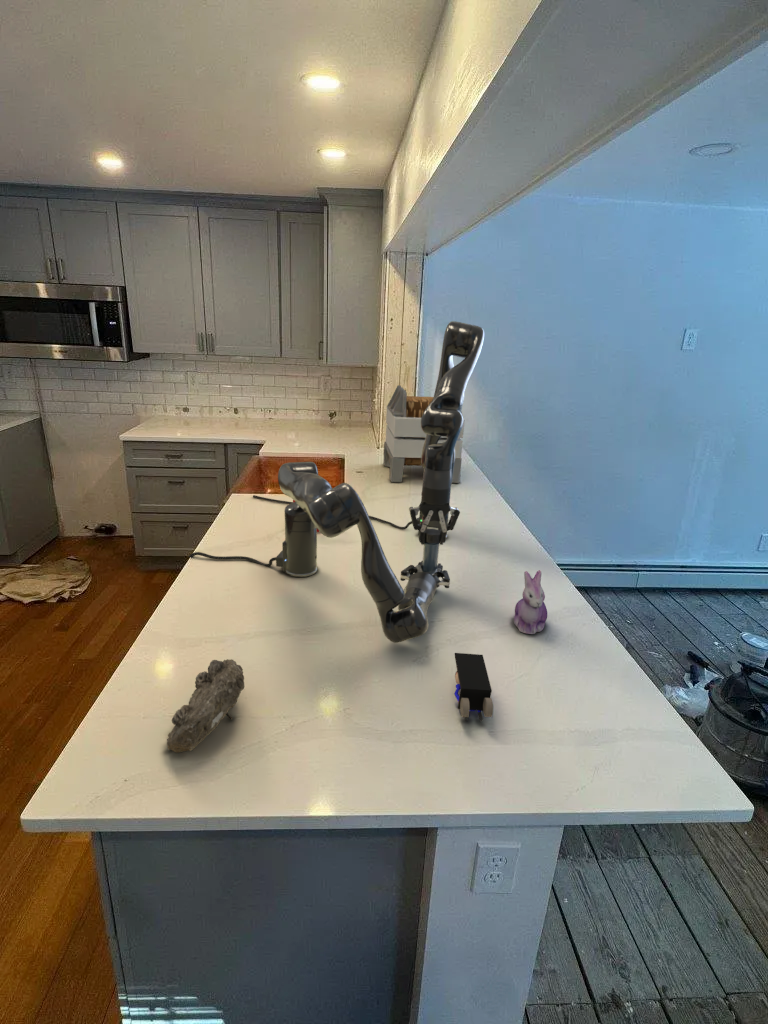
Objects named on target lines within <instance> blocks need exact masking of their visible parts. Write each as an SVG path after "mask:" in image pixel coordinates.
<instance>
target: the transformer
mask: <svg viewBox="0 0 768 1024" xmlns="http://www.w3.org/2000/svg"><path fill="white" fill-rule="evenodd" d="M407 394H408V393H407V390H406V389H404V388H403V387H402V385H399V384H398V385H397V386H396V388H395V390H394V392H393V394H392V395H391V398H390V400H389V402H388V404H387V405H386V413H385V414H386V415H385V423H386V428H385V438H384V442H383V466H384V467H388V468H389V475H388V476H389V477H388V478H389V480H390V482H391V483H402V482H403V475H404V469H405V466H406V467H407V466H411V467H412V466H413V467H415V466H416V467H417V466H418V467H422V465H421V454H422V449H423V445H424V442H425V438H426V433H424V432H423V430H422V428H421V418H422V415H423V413H424V411H425V409H426V408H427V407H428V405H429V404H430V403H431V402H432V400H433V398H434V396H415V395H414V396H413V395H412V396H411V395H407ZM461 414H462V415H463V411H461ZM464 429H465V419H464V418H463V426H462V429H461V431H460V434H459V436H458V439H457V441H456V444H455V448H454V449H455V463H454V469H453V477H452V484H455V483H456V484H459V483H461V472H462V461H463V460H462V453H463V442H464V441H463V440H462V439H463V438H464V431H465V430H464ZM446 440H447V437H443V436H441V437H440V439H439V441H438V443H444V442H446Z"/></svg>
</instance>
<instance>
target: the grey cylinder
mask: <svg viewBox="0 0 768 1024" xmlns="http://www.w3.org/2000/svg"><path fill="white" fill-rule="evenodd" d="M439 552H440V543H439V542H438V543H428V542H426V541H425V544H424V545H423V551H422V561H423V563H422V572H427V573H430V572H431V571H433V570H436V569H437V566H438V562H439Z"/></svg>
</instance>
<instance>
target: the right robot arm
mask: <svg viewBox="0 0 768 1024" xmlns="http://www.w3.org/2000/svg"><path fill="white" fill-rule="evenodd" d="M484 339H485V330H484V328H483V327H481V326H479V325H475V324H469V323H466V322H461V321H457V320H456V321H455V320H452V321H450V322H448V324H447V326H446V327H445V331H444V335H443V341H442V348H441V356H440V363H439V370H438V376H437V380H436V384H435V388H434V392H433V397H434V398H433V400H432V402H431V403H430V404H429V405H428V407H427V408H426V409H425V411H424V413H423V415H422V418H421V428H422V430H423V432H424V433H426V438H425V442H424V445H423V449H422V454H421V465H422V466H421V467H422V469H423V474H422V475H423V476H422V485H421V486H422V487H421V498H420V499H421V500H420V503H419V505H418V506H415V507H414V506H410V507H409V508H408V510H409V514H410V519H411V520H410V521H408V522H407V524H406V525H405V526H399V525H396V524H394V523H393V522H391V521H389V520H388V521H387V520H385V519H382V518H378V517H375V516H373V515H369V518H370V520H374V521H378V522H380V523H383V524H387V525H389V526H391V527H393V528H396V529H399V530H407V529H408V528H409V526H410V525H412V527H413V529H414V531H417V535H418V541H419V543H420V544H421V545H422V546H424V544H425V530H426V529H437V530H439V531H441V541H440V542H439V546H443V545H444V543H446V541H447V540H446V539H447V538H448V532H449V531H453V530H454V528H455V526H456V524H457V521H458V519H459V516H460V514H461V511H460V510H459V508H458V507H453V506H451V505H450V504H451V494H452V493H451V491H452V484H453V483H452V477H453V469H454V463H455V449H454V448H455V444H456V441H457V439H458V436H459V434H460V431H461V429H462V426H463V419H464V417H463V413H462V414H461V412H462V409H463V404H464V402H465V401H464V400H465V391H466V388H467V386H468V385H467V384H468V382H469V381H470V380H469V379H470V378H471V375H472V374H473V372H474V369H475V366H476V364H477V362H478V359H479V357H480V355H481V351H482V349H483V348H482V347H483V344H484V341H485V340H484ZM453 357H458V358H462V359H463V360H460V362H459V363H457V364H456V365H454V358H453ZM441 436H443V437H447V440H446V442H444V443H438V441H439V439H440V437H441ZM252 498H254V499H259V500H262V501H270V502H274V503H281V504H286V505H289V504H290V503H293V501H287V500H281V499H274V498H268V497H264V496H258V495H254V494H253V495H252ZM449 514H450V516H449ZM418 515H419V516H418ZM417 516H418V517H417Z"/></svg>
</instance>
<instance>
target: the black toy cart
mask: <svg viewBox="0 0 768 1024" xmlns="http://www.w3.org/2000/svg"><path fill="white" fill-rule="evenodd" d="M454 660H455V666H456V667H455V668H456V671H455V675H454V680H455V683H456V684H455V691H454V697H455V698H456V701H457V709H458V710H459V713H460V717H461V718H464V720H465V721H466V722H468V721H469V716H470V712H477V716H478V721H480V722H483V720H484V718H492V717H493V713H494V704H493V699H492V697H491V696H492V690H493V689H492V687H491V682H490V679H489V674H488V671H487V666H486V662H485V658H484V655H483V654H480V653H479V654H478V653H477V654H476V653H464V652H463V653H461V652H454ZM483 716H484V717H483Z"/></svg>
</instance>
